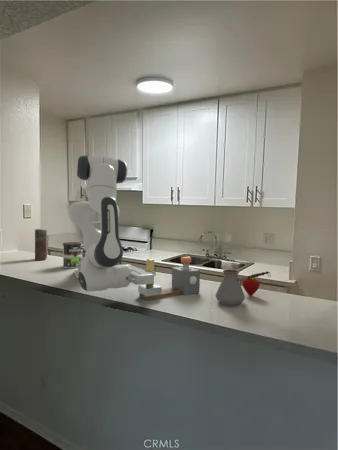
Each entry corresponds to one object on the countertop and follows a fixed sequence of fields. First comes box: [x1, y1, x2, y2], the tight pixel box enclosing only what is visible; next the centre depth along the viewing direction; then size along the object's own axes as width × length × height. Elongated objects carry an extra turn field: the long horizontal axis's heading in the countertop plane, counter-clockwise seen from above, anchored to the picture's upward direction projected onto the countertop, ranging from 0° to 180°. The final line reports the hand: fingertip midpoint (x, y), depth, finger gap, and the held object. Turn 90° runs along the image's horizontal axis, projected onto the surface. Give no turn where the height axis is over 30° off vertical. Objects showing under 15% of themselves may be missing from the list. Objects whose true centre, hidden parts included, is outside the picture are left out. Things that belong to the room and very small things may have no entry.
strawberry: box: [241, 272, 261, 297], centre depth 134 cm, size 6×8×10 cm
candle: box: [34, 228, 48, 261], centre depth 205 cm, size 8×7×20 cm
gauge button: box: [180, 256, 192, 270], centre depth 139 cm, size 5×5×11 cm
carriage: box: [137, 258, 163, 297], centre depth 129 cm, size 7×7×14 cm
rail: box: [138, 287, 183, 301], centre depth 132 cm, size 6×18×2 cm, turn 124°
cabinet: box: [171, 265, 201, 296], centre depth 139 cm, size 11×8×10 cm
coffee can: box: [62, 241, 82, 269], centre depth 185 cm, size 10×10×14 cm
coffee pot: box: [215, 269, 272, 307], centre depth 121 cm, size 21×12×15 cm, turn 53°
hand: (151, 272), depth 129 cm, fingers closed on carriage, 3 cm apart
